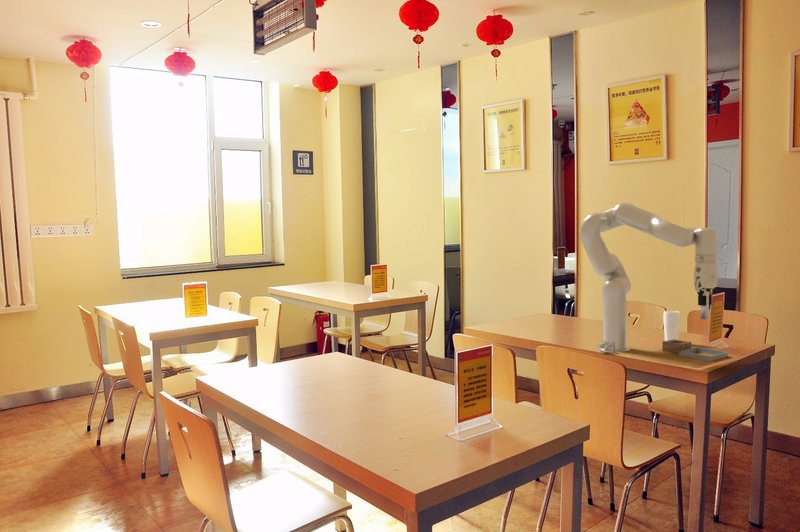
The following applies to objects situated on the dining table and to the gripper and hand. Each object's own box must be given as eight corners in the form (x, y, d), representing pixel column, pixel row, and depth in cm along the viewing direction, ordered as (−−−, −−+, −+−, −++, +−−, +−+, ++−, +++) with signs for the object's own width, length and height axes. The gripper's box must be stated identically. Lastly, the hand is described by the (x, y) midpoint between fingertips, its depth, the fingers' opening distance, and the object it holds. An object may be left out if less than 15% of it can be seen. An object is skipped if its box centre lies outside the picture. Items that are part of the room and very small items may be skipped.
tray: (710, 363, 247) (710, 356, 247) (679, 358, 258) (679, 351, 258) (727, 358, 255) (728, 351, 255) (696, 353, 266) (696, 346, 265)
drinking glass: (669, 347, 279) (670, 313, 278) (659, 344, 285) (660, 311, 284) (683, 346, 280) (683, 312, 279) (672, 343, 287) (673, 310, 286)
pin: (706, 319, 253) (706, 290, 252) (698, 318, 256) (698, 289, 255) (710, 318, 255) (711, 289, 254) (702, 317, 257) (703, 289, 257)
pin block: (680, 356, 260) (680, 344, 260) (662, 353, 267) (662, 341, 266) (691, 353, 265) (691, 342, 264) (673, 350, 271) (673, 339, 271)
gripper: (703, 260, 246) (702, 308, 247) (725, 258, 255) (724, 304, 256) (685, 259, 252) (684, 306, 253) (707, 257, 261) (706, 302, 263)
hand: (704, 304), depth 255 cm, fingers closed on pin, 3 cm apart
